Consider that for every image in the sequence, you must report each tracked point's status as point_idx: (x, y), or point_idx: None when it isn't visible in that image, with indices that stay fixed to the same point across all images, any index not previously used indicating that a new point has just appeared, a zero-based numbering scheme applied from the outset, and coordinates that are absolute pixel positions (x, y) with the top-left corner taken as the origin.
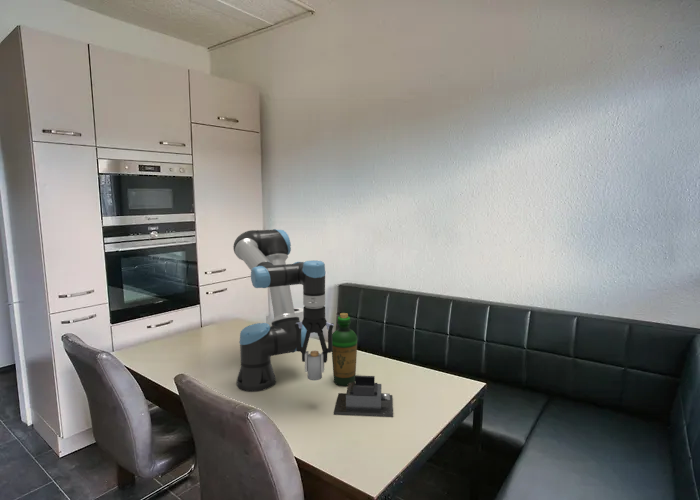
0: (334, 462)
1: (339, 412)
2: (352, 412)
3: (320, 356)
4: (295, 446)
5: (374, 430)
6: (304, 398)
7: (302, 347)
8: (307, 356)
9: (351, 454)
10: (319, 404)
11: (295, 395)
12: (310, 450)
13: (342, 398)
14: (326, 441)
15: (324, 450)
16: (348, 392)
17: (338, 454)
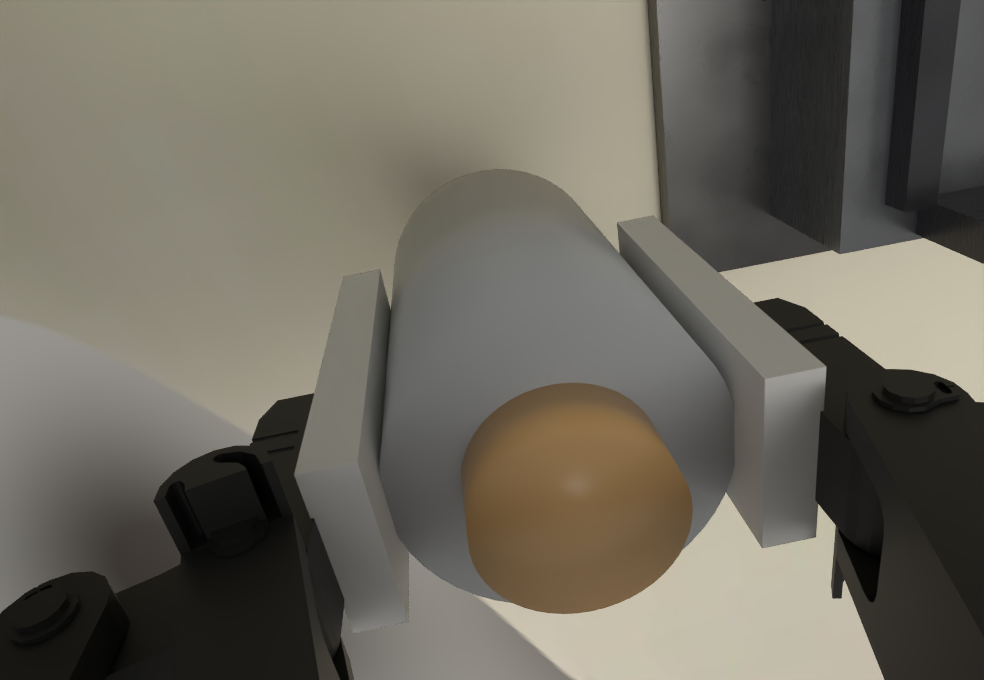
0: (751, 672)
1: (718, 269)
2: (827, 249)
3: (719, 485)
4: (525, 634)
5: (965, 386)
6: (301, 49)
7: (172, 648)
8: (408, 542)
9: (827, 608)
10: (497, 135)
11: (170, 3)
12: (615, 638)
13: (712, 5)
14: (680, 557)
15: (686, 619)
16: (864, 181)
17: (762, 624)
